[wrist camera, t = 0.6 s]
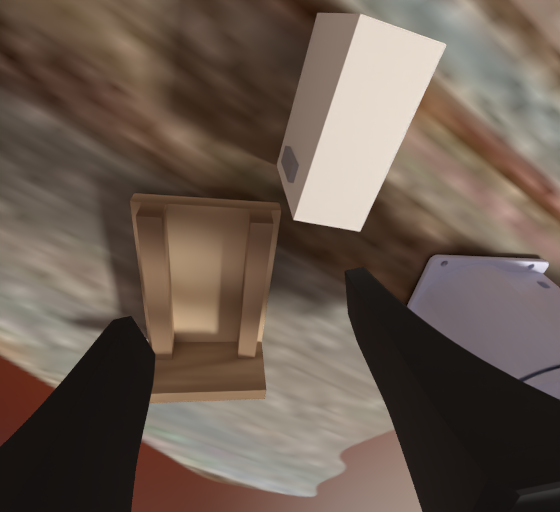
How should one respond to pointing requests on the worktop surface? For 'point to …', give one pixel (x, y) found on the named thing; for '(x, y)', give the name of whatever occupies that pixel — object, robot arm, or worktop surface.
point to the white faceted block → (351, 115)
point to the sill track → (205, 293)
